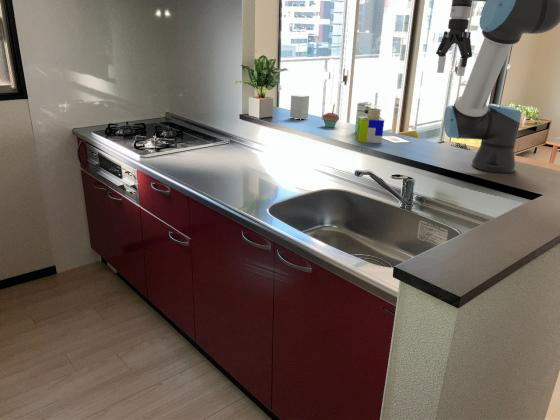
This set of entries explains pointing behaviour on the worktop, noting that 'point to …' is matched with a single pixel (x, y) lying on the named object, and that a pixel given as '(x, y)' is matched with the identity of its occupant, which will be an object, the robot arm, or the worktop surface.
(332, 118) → the cupcake
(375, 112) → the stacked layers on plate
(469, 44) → the robot arm
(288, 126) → the worktop surface
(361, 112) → the syrup box
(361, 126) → the puzzle toy
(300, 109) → the supplement box
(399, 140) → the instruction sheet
